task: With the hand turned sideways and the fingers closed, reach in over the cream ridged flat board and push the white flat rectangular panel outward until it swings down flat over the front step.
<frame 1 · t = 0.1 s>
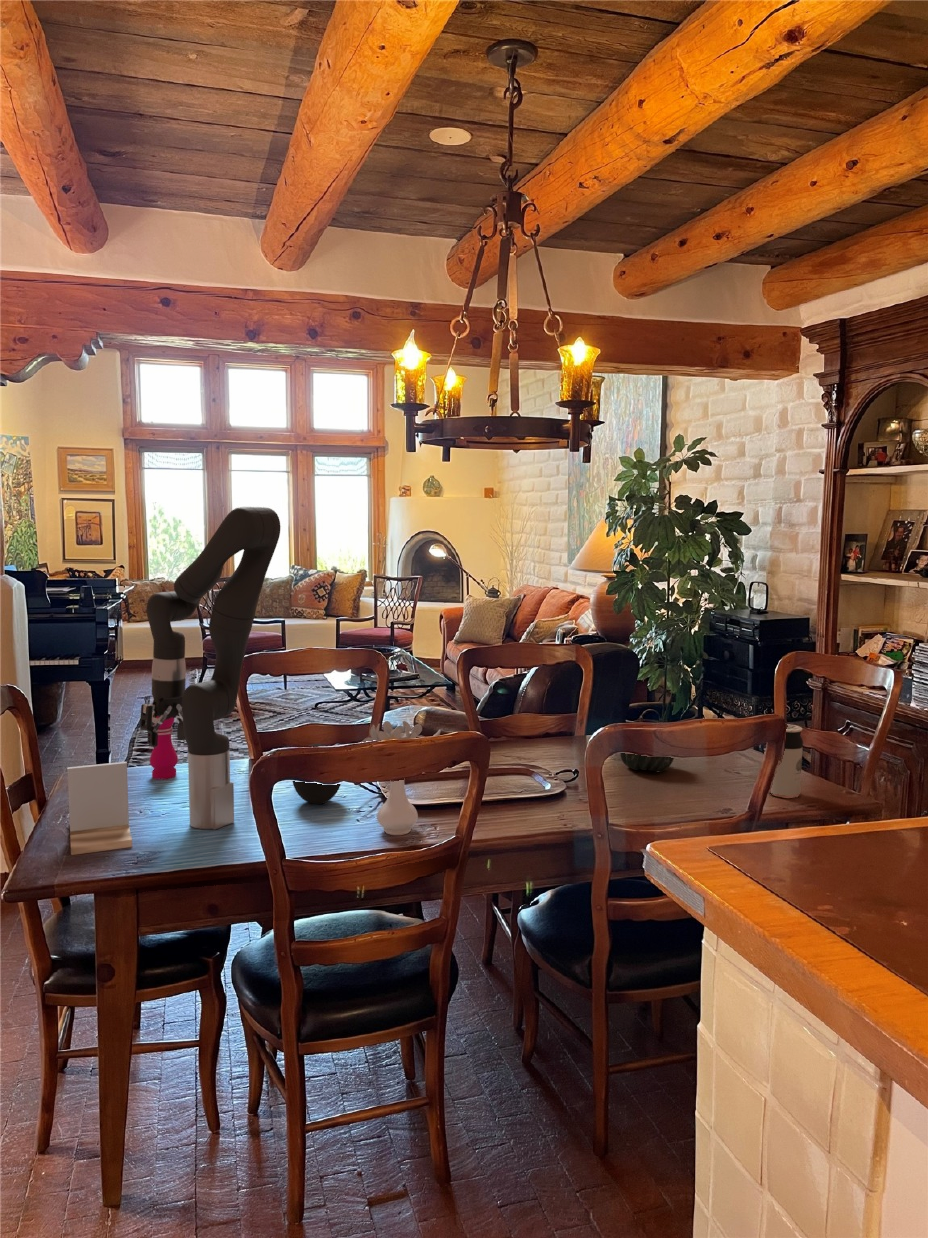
hand: (167, 742, 208), 17 cm above the table, tool pointing down, fingers open, 8 cm apart
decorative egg: (317, 804, 218), on the table
travel mug: (783, 795, 229), on the table
flower vase: (399, 830, 200), on the table
squash: (647, 769, 251), on the table
white flat rectangular panel: (98, 796, 193), point 9 cm above the table, hinge at 0.0°
pepper mill: (164, 776, 240), on the table
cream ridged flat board: (100, 837, 193), on the table
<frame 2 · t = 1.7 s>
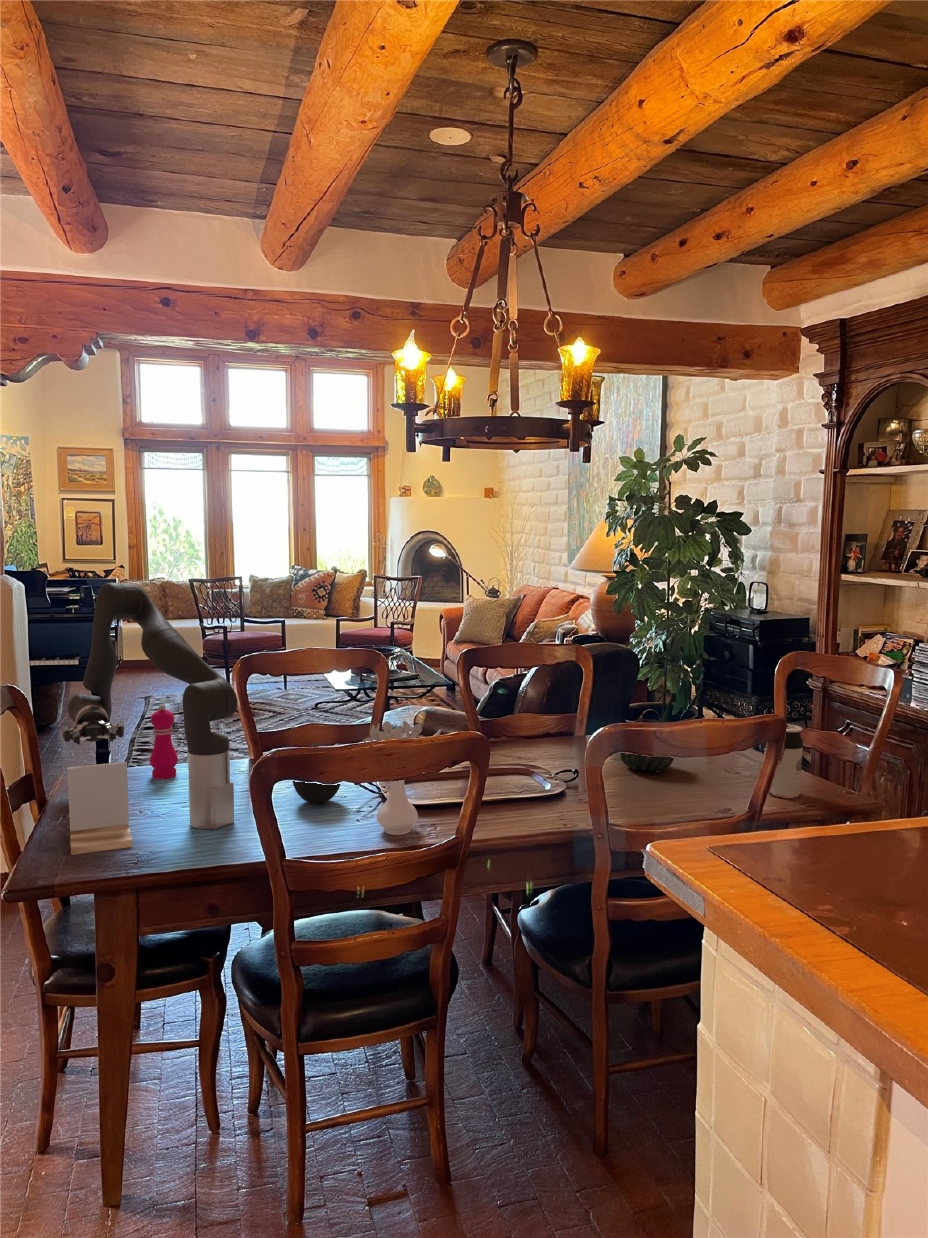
hand: (95, 738, 200), 20 cm above the table, tool horizontal, fingers open, 6 cm apart
nothing on the table moved.
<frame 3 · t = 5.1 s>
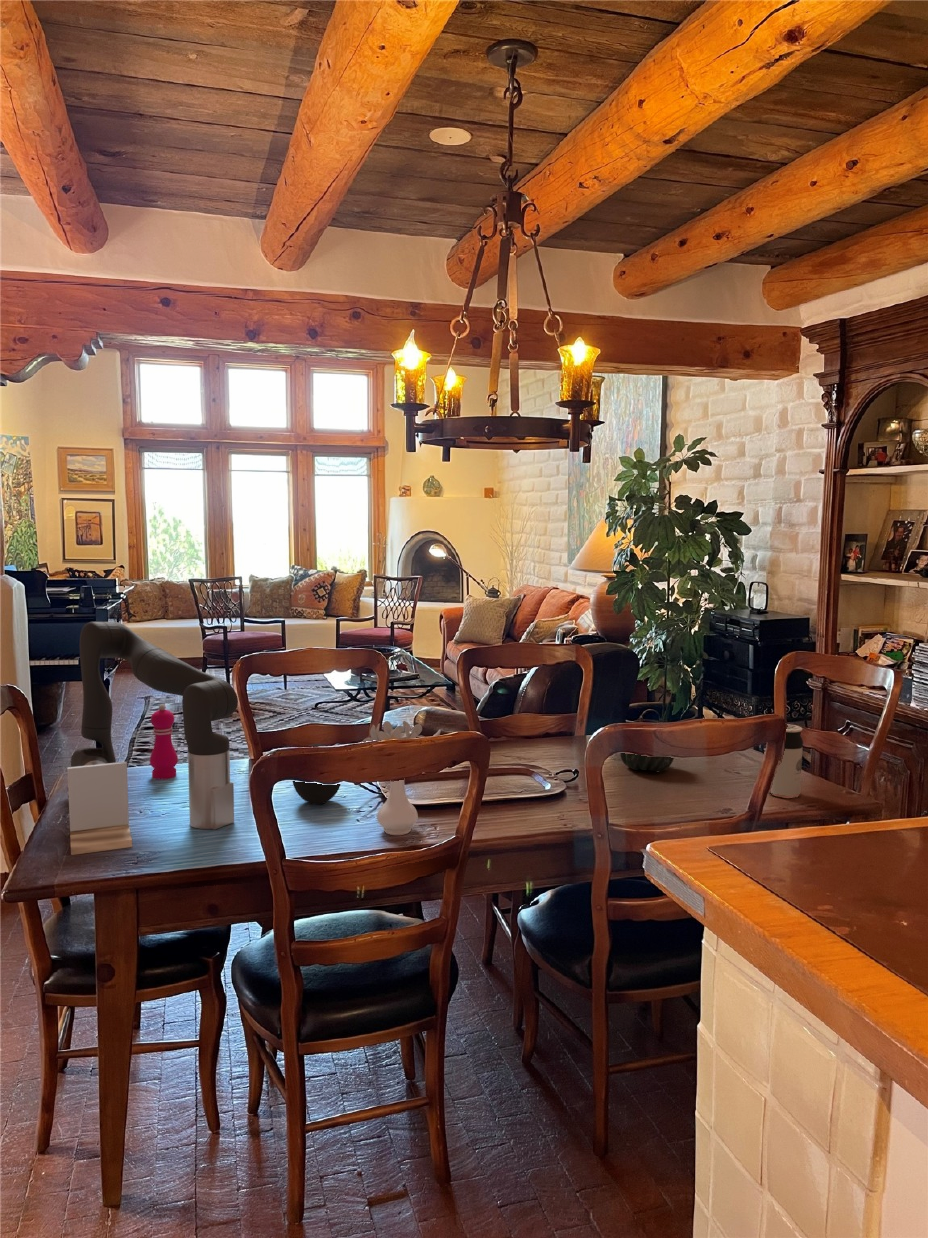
hand: (98, 801, 194), 8 cm above the table, tool horizontal, fingers closed
white flat rectangular panel: (98, 796, 193), point 9 cm above the table, hinge at 0.0°, touching gripper
everything else where it was.
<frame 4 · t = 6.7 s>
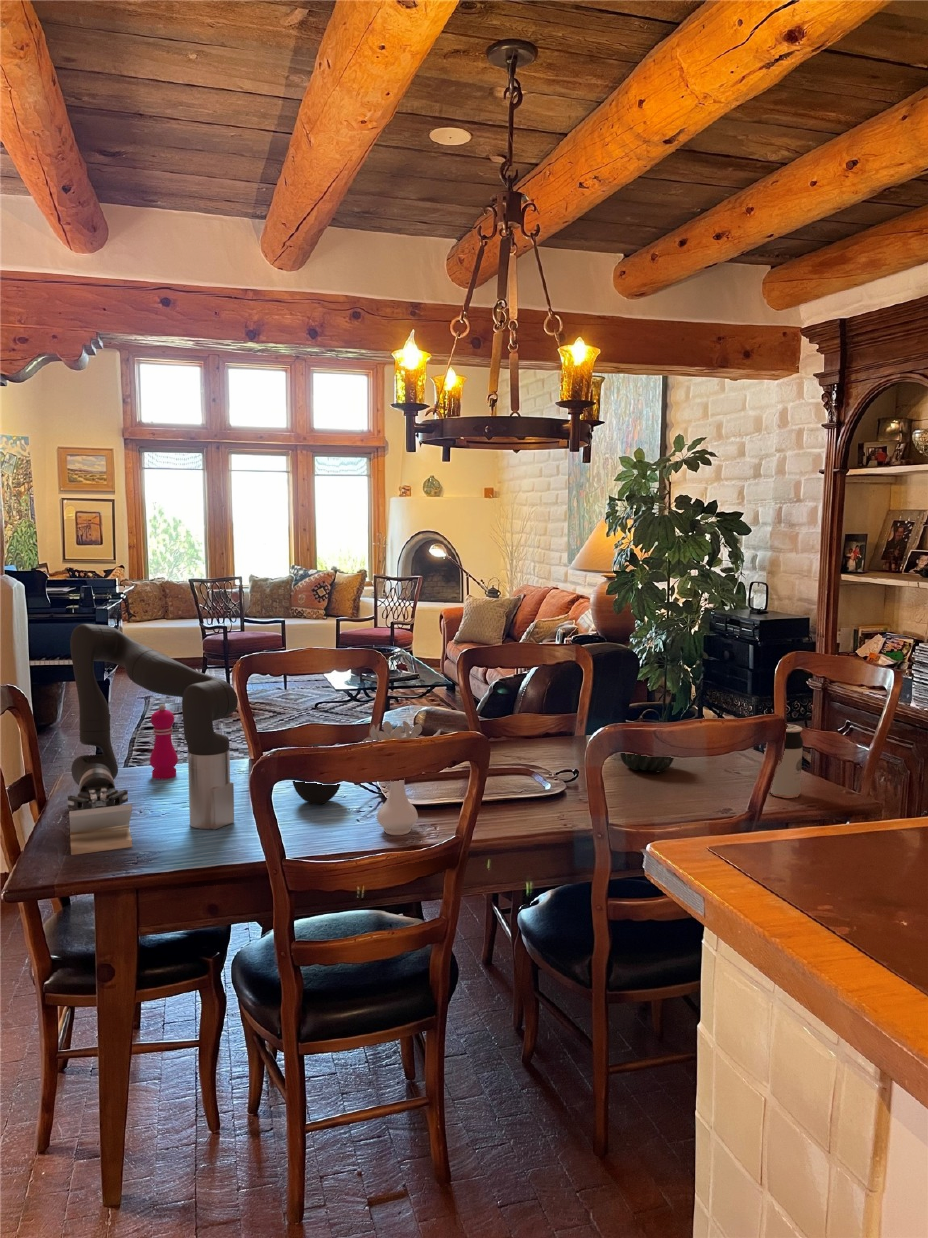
hand: (99, 811, 187), 8 cm above the table, tool horizontal, fingers closed
white flat rectangular panel: (100, 818, 187), point 6 cm above the table, hinge at 58.6°, touching gripper
everything else where it was.
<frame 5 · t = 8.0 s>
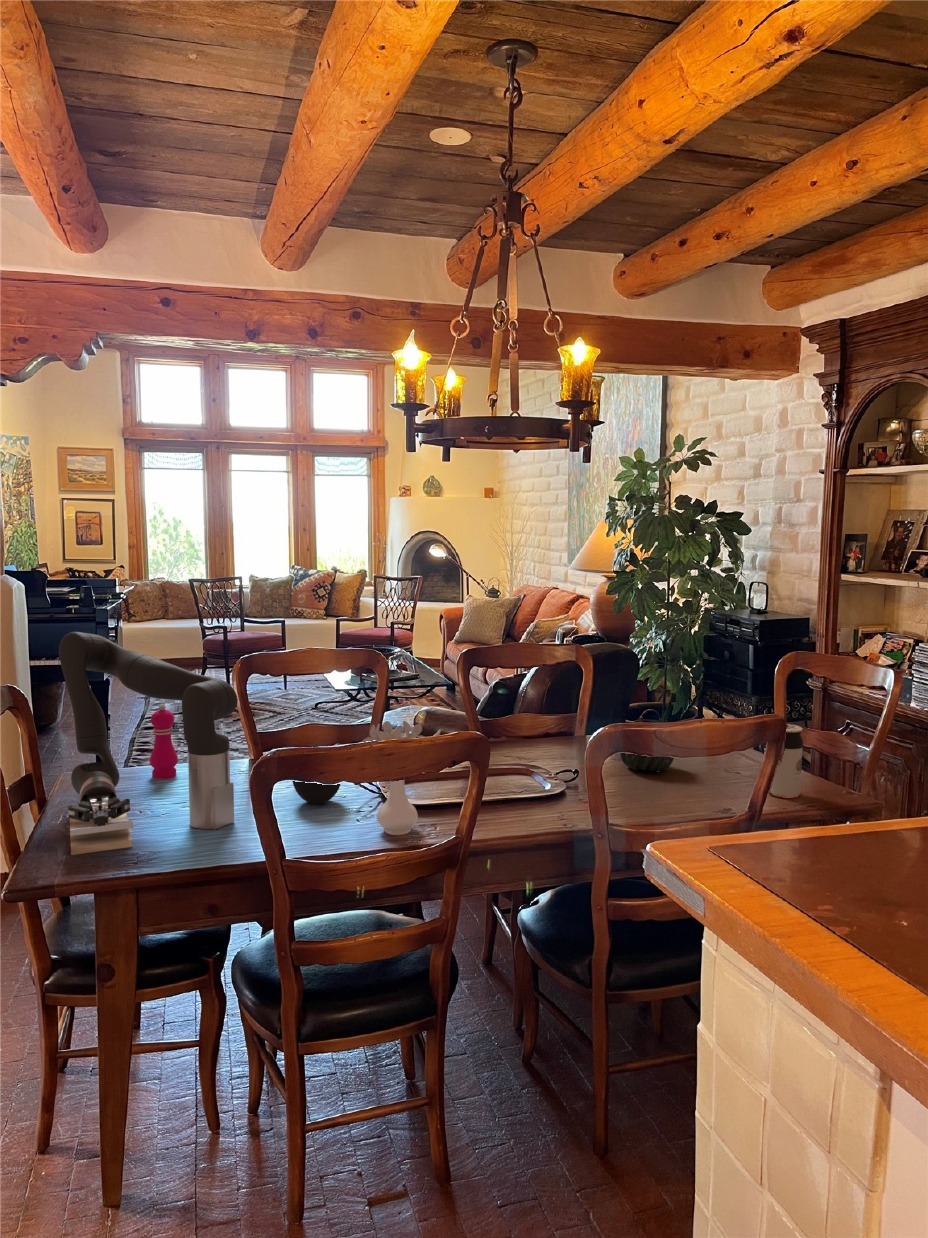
hand: (101, 821, 181), 8 cm above the table, tool horizontal, fingers closed
white flat rectangular panel: (100, 827, 187), point 5 cm above the table, hinge at 73.7°
everything else where it was.
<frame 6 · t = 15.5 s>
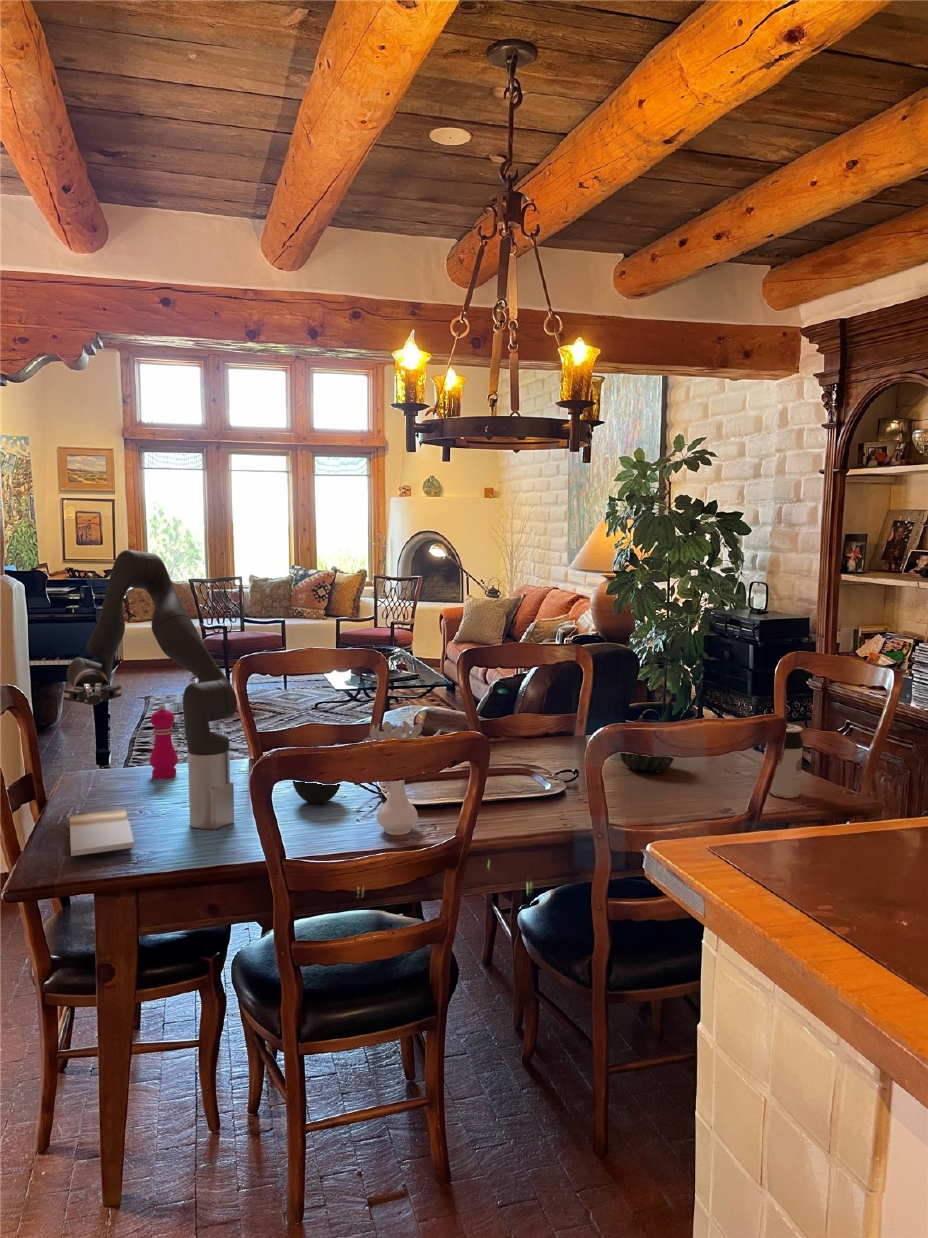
hand: (94, 700, 194), 30 cm above the table, tool horizontal, fingers closed
white flat rectangular panel: (101, 837, 186), point 3 cm above the table, hinge at 90.1°
everything else where it was.
at the end: white flat rectangular panel at +90° (first picture: +0°); pepper mill moved 0.2 cm from its start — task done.
